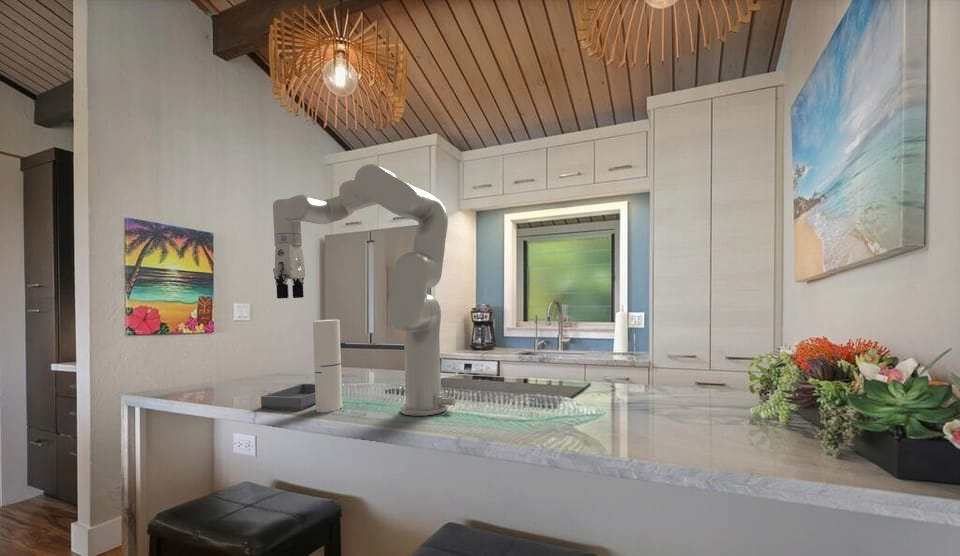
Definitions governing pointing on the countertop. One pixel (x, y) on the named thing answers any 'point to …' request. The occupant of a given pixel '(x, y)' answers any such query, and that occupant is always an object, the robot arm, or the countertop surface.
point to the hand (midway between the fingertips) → (290, 298)
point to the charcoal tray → (291, 398)
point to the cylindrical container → (327, 365)
